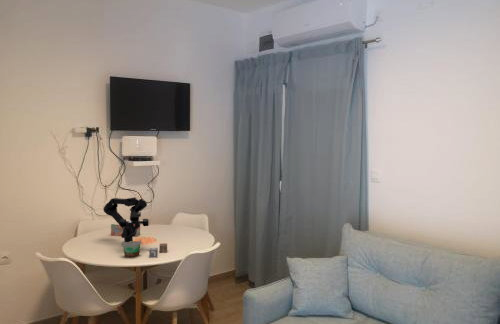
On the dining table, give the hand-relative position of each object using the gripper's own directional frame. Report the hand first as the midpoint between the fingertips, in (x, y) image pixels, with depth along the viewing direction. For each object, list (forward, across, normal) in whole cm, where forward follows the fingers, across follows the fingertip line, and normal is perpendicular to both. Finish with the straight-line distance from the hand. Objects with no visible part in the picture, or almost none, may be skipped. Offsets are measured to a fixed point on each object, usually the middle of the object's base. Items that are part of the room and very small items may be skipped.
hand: (133, 233), depth 248 cm
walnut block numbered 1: (+9, +20, +10) cm, 24 cm away
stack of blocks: (-22, -9, +42) cm, 48 cm away
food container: (+15, -1, +4) cm, 15 cm away
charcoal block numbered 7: (+16, +13, +3) cm, 21 cm away
